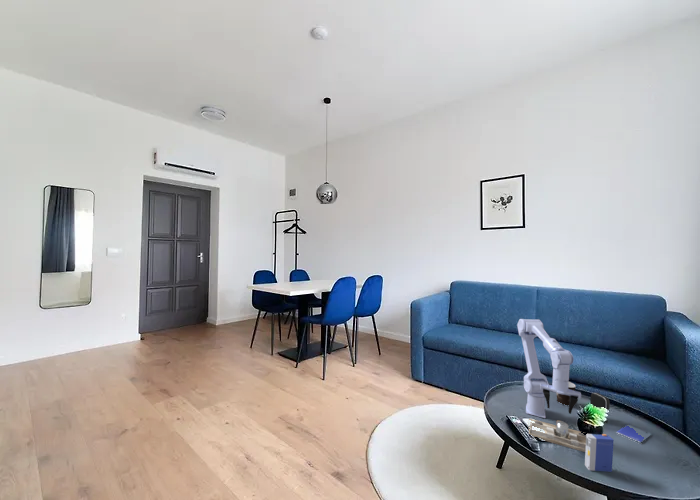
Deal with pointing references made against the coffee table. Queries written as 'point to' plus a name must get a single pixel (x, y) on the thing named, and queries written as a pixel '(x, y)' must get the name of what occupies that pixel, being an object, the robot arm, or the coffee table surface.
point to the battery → (599, 401)
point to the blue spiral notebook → (630, 433)
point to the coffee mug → (565, 398)
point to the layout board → (574, 437)
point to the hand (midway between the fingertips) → (558, 410)
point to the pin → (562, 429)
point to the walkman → (599, 452)
